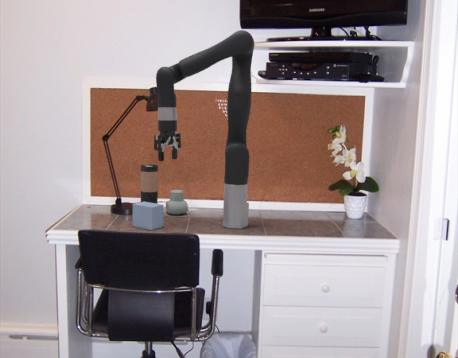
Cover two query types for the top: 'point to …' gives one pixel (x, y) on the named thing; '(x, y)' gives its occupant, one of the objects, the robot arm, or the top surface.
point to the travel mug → (149, 183)
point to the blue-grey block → (148, 215)
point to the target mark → (145, 228)
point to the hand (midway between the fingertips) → (168, 160)
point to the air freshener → (176, 203)
